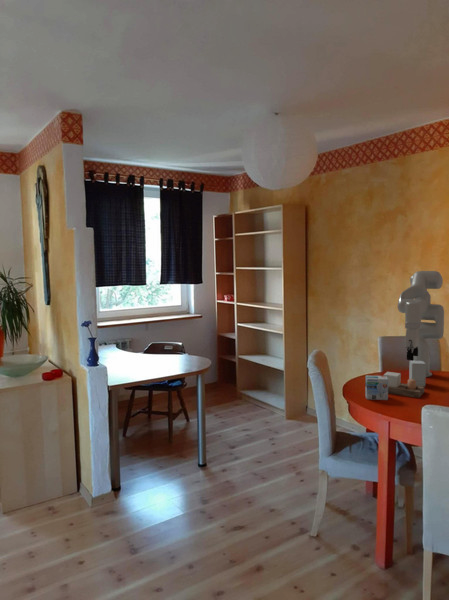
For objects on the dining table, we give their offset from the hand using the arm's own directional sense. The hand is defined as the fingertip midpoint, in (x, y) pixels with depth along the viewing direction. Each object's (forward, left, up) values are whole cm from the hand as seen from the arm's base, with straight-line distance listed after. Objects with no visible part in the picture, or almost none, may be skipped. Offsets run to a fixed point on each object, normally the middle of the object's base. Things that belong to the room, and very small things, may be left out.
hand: (412, 357), depth 238 cm
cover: (+1, -10, -16) cm, 19 cm away
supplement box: (-18, -1, -19) cm, 26 cm away
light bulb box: (+17, -13, -19) cm, 29 cm away
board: (+1, -5, -19) cm, 19 cm away
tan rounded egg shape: (0, 0, -19) cm, 19 cm away
